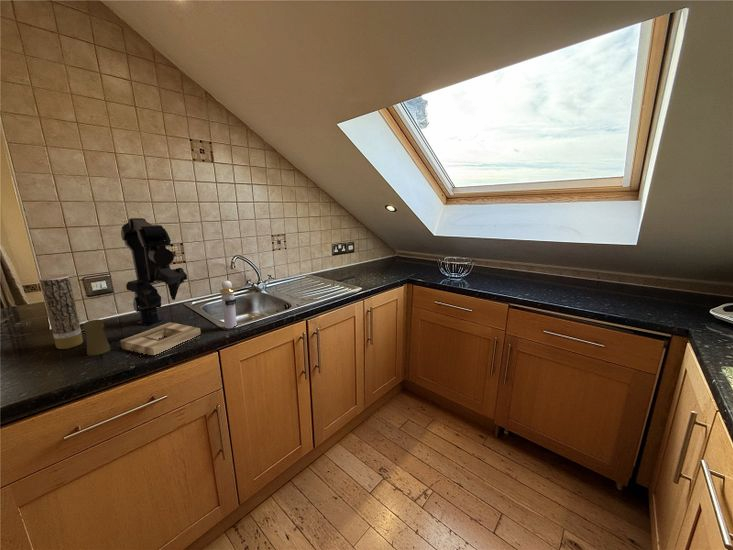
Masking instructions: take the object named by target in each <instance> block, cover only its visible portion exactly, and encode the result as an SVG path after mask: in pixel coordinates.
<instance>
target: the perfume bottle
mask: <svg viewBox="0 0 733 550" xmlns="http://www.w3.org/2000/svg"><path fill="white" fill-rule="evenodd" d="M221 287H222V289H220V290H219V293H220V294H221V301H222V303H221V304H222V313H223V314H222V315H223V324H224V328H225V329H233V327H234V326H236V325H237V326H238V324H237V313H236V312H237V311H236V305H237V299H236V298H235V293H234V292H236V288H233V283H232V282H231V281H230V280H224V281H223V282H222V283H221ZM237 326H236V327H237ZM234 328H235V327H234Z"/></svg>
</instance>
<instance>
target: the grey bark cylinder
mask: <svg viewBox="0 0 733 550" xmlns="http://www.w3.org/2000/svg"><path fill="white" fill-rule="evenodd" d="M39 281H40V286H41V290H42V294H43V297H44V302H45V307H46V311H47V315H48V319H49V324H50V327H51V332H52V336H53V340H54V344H55V348H57V349H59V350H67V349H71V348H76V347H78V346H80V345H82V344H83V342H84V340H83V335H82V330H81V325H80V321H79V320H80V319H79V316H78V315H79V314H78V310H77V306H76V302H75V301H76V300H75V297H74V292H73V288H72V283H71V279H70V274H66V273H64V274H63V273H62V274H51V275H46V276H41V277H39Z"/></svg>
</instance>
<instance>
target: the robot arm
mask: <svg viewBox="0 0 733 550" xmlns="http://www.w3.org/2000/svg"><path fill="white" fill-rule="evenodd" d="M120 230H121V231H120V236H121V240H122V241H123V242H124V244H125V246H126V247H127V248H128V249H129V250H130V251H131V255H132V261H133V265H134V267H133V268H134V271H135V276H136V277H135V278H136V279H134V280H130V281H127V282H126V285H125V286H126V290H127V291H130V292H134V297H133V301H132V302H133V303H132V306H133V310H134V311H135V312H137V313H138V312H139V317H140V319H139V320H140V321H137V322H136V324H138V325H143V326H150V325H153V324H156V323H158V322H161V321H163V319H161V318H159V313H158V308H161V307H162V296H161V294H160V293H159V292H158V289H157V288H155V287H154V286H153V285H156V284H160V283H161V284H162V283H165V285H167V289H168V291H169V295H170V298H171V300H173V301H175V300H176V298H177V294H178V290H179V287H180V285H182V284H184V282H185V281H186V280H188V274H187V273H186V272H185V271H184V268H182V267H177V268H173V269H172V268H171V263H173V261H174V259H175V256H174V253H173V252H172V251H171V250H170V249H169V248H166V246H171V241H172V240H171V238H170V236H169V234H168V232H167V230H166V228H164V226H162V224H151V223H150V222H148V221H147V220H146V219H145V218H143V217H131V218H128V221H127V222H126V223H125V224H124V225H123V226H121V229H120Z"/></svg>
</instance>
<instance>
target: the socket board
mask: <svg viewBox="0 0 733 550" xmlns="http://www.w3.org/2000/svg"><path fill="white" fill-rule="evenodd" d="M201 333H202V332H201V328H200V327H195V326H190V325H186V324H180V323H176V322H175V323H174V322H167V323H165V324H162V325H158V326H156V327H154V328H153V327H152V328H151V329H149V330H146V331H143V332H140V333H137V334H134V335H132V336H129V337H126V338H124V339H120V346H121V349H123V350H126V351H129V350H130V351H129V352H133V351H134V353H137V352H138V353H137V354H141V353H143V354H142V355H145V354H148V355H147V356H149V355H156V354H159V353H161V352H163V351H165V350H168V349H170V348H172V347H174V346H176V345H178V344H180V343H182V342H185V341H187V340H190V339H192V338H194V337H196V336H198V335H200V334H201ZM201 335H202V334H201ZM164 336H165V337H164ZM159 338H160V339H159ZM194 339H195V338H194ZM192 340H193V339H192ZM190 341H191V340H190ZM170 350H171V349H170ZM168 351H169V350H168Z"/></svg>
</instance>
